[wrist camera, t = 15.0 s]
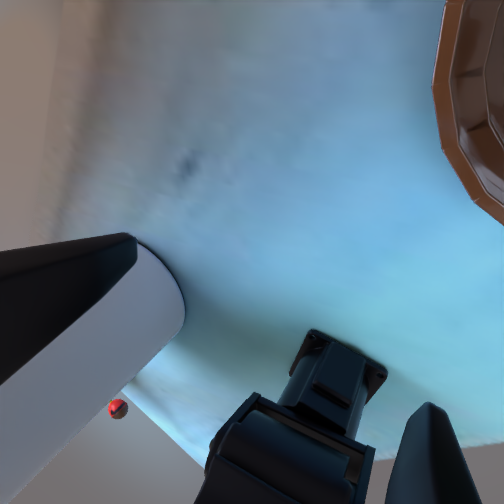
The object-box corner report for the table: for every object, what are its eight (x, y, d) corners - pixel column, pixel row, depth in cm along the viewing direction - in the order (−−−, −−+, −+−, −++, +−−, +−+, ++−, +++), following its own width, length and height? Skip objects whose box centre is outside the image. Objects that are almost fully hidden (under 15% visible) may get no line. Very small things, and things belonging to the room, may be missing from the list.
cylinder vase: (185, 257, 30) (-269, 605, 12) (191, 349, 37) (-85, 655, 19) (89, 219, 35) (-343, 423, 16) (111, 307, 42) (-173, 519, 23)
